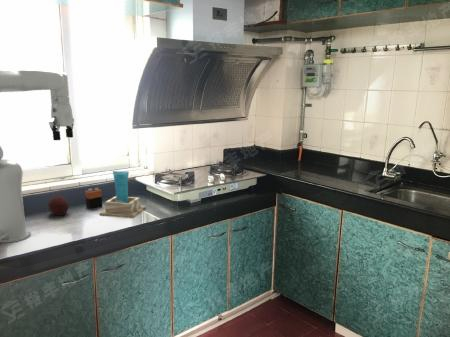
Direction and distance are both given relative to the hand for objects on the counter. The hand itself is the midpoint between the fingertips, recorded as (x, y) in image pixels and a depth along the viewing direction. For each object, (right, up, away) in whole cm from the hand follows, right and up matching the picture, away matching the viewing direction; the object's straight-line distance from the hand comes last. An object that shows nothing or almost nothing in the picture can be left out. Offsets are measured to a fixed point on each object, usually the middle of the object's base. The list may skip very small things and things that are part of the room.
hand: (63, 138), depth 175 cm
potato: (-5, -36, +8) cm, 37 cm away
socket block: (+24, -35, +12) cm, 44 cm away
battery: (+8, -34, +18) cm, 39 cm away
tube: (+24, -34, +12) cm, 43 cm away
